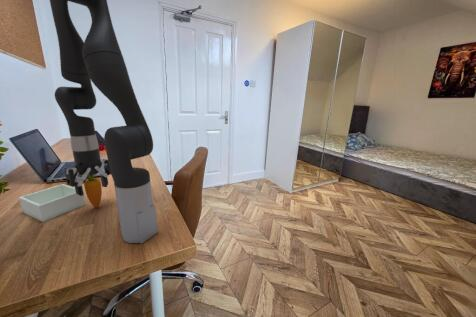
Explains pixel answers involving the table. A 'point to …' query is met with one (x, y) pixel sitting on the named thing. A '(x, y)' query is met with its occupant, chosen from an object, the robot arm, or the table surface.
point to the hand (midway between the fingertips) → (93, 190)
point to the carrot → (93, 190)
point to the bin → (51, 202)
